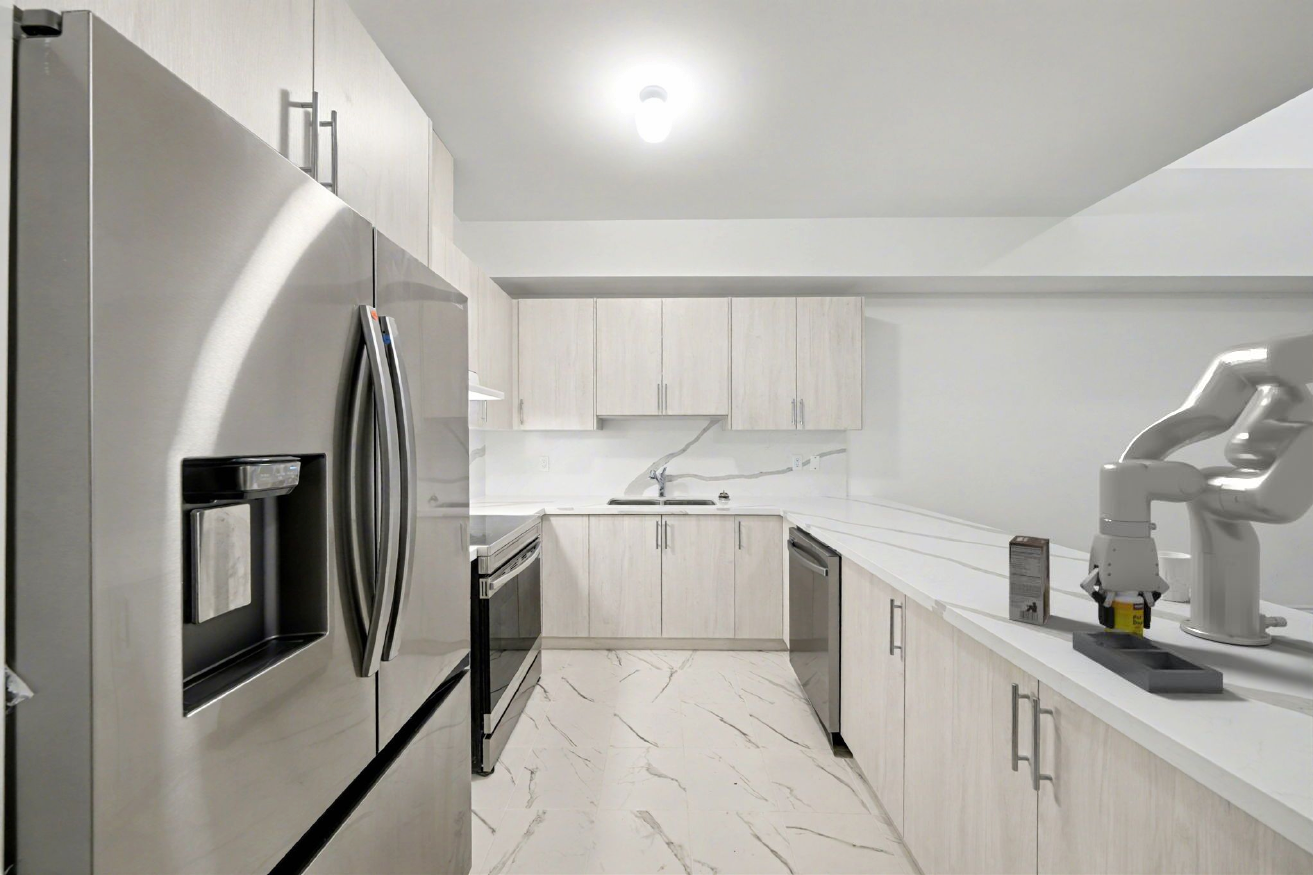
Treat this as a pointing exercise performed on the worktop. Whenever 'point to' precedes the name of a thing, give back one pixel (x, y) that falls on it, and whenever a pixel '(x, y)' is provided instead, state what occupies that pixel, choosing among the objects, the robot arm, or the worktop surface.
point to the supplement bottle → (1128, 612)
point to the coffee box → (1029, 579)
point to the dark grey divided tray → (1148, 663)
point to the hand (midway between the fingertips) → (1124, 625)
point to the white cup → (1175, 575)
